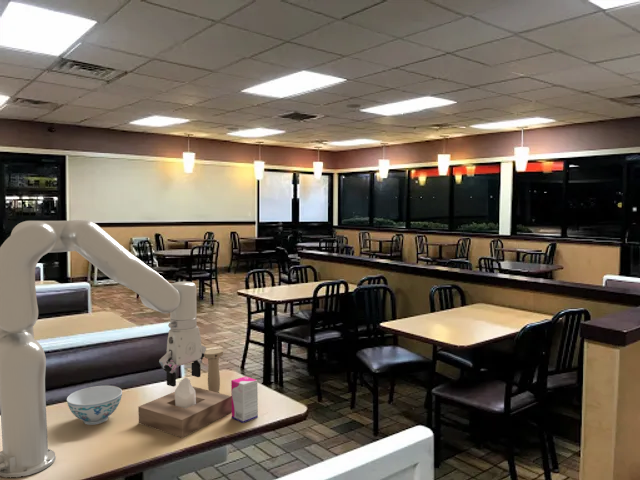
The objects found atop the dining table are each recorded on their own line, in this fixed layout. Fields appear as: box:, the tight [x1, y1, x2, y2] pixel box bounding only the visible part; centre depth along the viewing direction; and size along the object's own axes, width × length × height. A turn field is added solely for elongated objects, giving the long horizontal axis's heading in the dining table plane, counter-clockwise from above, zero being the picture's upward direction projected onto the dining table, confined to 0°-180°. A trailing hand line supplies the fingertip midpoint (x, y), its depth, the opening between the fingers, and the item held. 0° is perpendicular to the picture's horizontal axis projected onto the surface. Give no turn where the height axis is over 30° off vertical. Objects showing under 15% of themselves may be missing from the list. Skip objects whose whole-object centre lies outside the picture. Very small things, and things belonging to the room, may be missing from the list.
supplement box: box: [230, 375, 259, 424], centre depth 150 cm, size 6×6×12 cm
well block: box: [137, 385, 232, 439], centre depth 151 cm, size 20×18×5 cm
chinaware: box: [66, 385, 123, 426], centre depth 150 cm, size 15×15×8 cm
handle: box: [203, 348, 224, 393], centre depth 168 cm, size 5×6×15 cm
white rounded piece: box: [174, 377, 196, 409], centre depth 151 cm, size 6×12×6 cm
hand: (184, 380), depth 150 cm, fingers open, 9 cm apart
